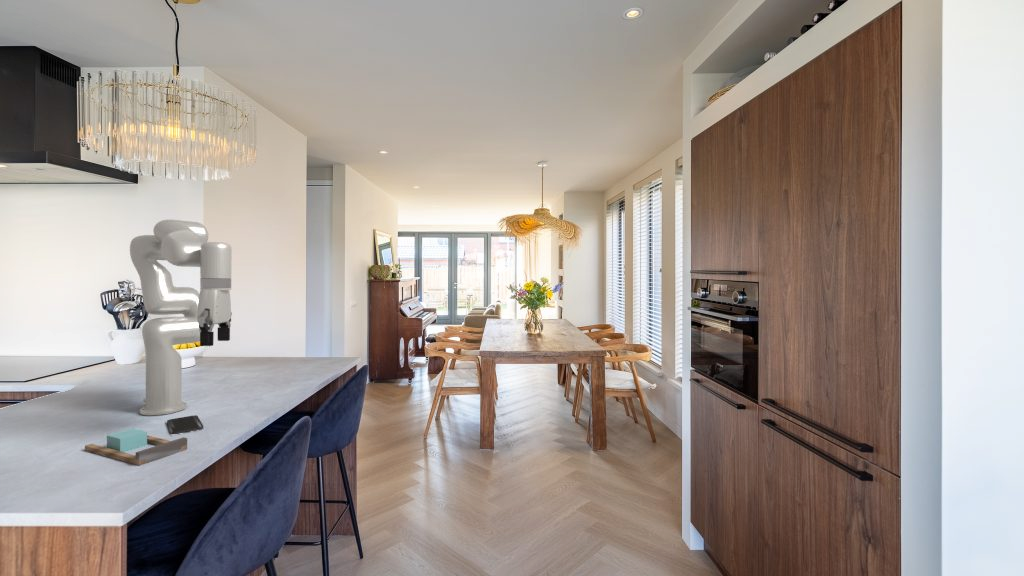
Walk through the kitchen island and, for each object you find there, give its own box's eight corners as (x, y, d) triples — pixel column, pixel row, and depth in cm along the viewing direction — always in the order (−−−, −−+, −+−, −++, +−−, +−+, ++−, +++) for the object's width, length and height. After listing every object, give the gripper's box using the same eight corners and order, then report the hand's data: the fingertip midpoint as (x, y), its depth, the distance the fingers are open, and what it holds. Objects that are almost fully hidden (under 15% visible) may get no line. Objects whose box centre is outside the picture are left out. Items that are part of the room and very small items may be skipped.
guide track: (84, 450, 114) (84, 439, 114) (133, 436, 124) (133, 426, 124) (139, 465, 106) (139, 453, 106) (187, 449, 116) (187, 438, 116)
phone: (197, 414, 142) (203, 427, 131) (197, 418, 142) (204, 430, 131) (166, 419, 137) (170, 433, 126) (166, 423, 137) (170, 436, 126)
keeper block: (106, 450, 115) (106, 435, 115) (133, 442, 121) (133, 428, 120) (120, 454, 113) (120, 439, 113) (146, 446, 118) (147, 431, 118)
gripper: (216, 283, 135) (216, 338, 135) (184, 285, 118) (184, 348, 118) (243, 284, 136) (242, 338, 137) (215, 285, 119) (214, 348, 120)
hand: (215, 343), depth 128 cm, fingers open, 9 cm apart
